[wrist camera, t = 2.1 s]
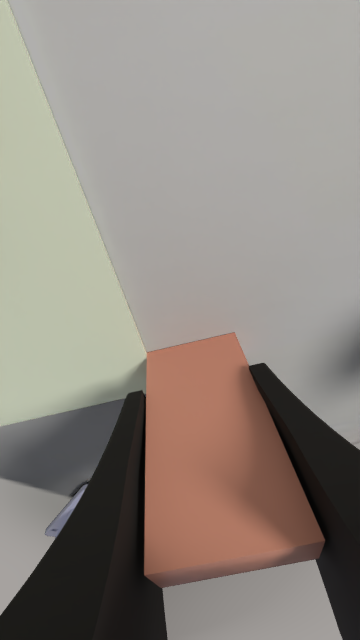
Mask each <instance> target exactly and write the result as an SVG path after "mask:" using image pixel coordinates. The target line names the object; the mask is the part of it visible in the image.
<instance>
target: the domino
mask: <svg viewBox="0 0 360 640" xmlns="http://www.w3.org/2000/svg"><path fill="white" fill-rule="evenodd" d="M324 543H325V539H324V537H323V534H322V532H321V530H320V528H319V525H318V523H317V521H316V518H315V516H314V514H313V511H312V509H311V507H310V505H309V502H308V500H307V498H306V495H305V493H304V491H303V488H302V486H301V484H300V482H299V479H298V477H297V475H296V472H295V470H294V468H293V466H292V463H291V461H290V459H289V456H288V454H287V452H286V449H285V447H284V445H283V443H282V440H281V438H280V436H279V433H278V431H277V429H276V427H275V424H274V422H273V420H272V417H271V415H270V413H269V410H268V408H267V406H266V404H265V401H264V400H263V398H262V396H261V394H260V392H259V391H258V389H257V387H256V384H255V382H254V380H253V377H252V375H251V373H250V370H249V365H248V362H247V360H246V358H245V355H244V353H243V351H242V349H241V346H240V344H239V342H238V339H237V337H236V335H235V333H230V334H226V335H221V336H217V337H213V338H208V339H204V340H200V341H195V342H191V343H187V344H182V345H178V346H174V347H169V348H165V349H161V350H156V351H152V352H148V353H147V375H146V460H145V545H144V576H146V577H147V578H148V579H150V580H151V581H152V582H154V583H155V584H156V585H158V586H159V587H160V588H164V587H169V586H175V585H180V584H185V583H190V582H196V581H201V580H207V579H211V578H217V577H222V576H228V575H233V574H238V573H244V572H249V571H254V570H260V569H266V568H271V567H276V566H281V565H287V564H292V563H298V562H303V561H308V560H314V559H319V557H320V554H321V551H322V549H323V546H324Z"/></svg>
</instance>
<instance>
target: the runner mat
mask: <svg viewBox="0 0 360 640" xmlns="http://www.w3.org/2000/svg"><path fill="white" fill-rule="evenodd" d="M146 375H147V352H146V350H145V347H144V345H143V342H142V340H141V337H140V335H139V332H138V329H137V327H136V324H135V322H134V319H133V317H132V314H131V312H130V309H129V307H128V304H127V302H126V299H125V297H124V294H123V292H122V289H121V286H120V284H119V281H118V279H117V276H116V274H115V271H114V269H113V266H112V264H111V261H110V259H109V256H108V254H107V251H106V249H105V246H104V243H103V241H102V238H101V236H100V233H99V231H98V228H97V226H96V223H95V221H94V218H93V216H92V213H91V211H90V208H89V206H88V203H87V200H86V198H85V195H84V193H83V190H82V188H81V185H80V183H79V180H78V178H77V175H76V173H75V170H74V168H73V165H72V163H71V160H70V157H69V155H68V152H67V150H66V147H65V145H64V142H63V140H62V137H61V135H60V132H59V130H58V127H57V125H56V122H55V120H54V117H53V114H52V112H51V109H50V107H49V104H48V102H47V99H46V97H45V94H44V92H43V89H42V87H41V84H40V82H39V79H38V77H37V74H36V71H35V69H34V66H33V64H32V61H31V59H30V56H29V54H28V51H27V49H26V46H25V44H24V41H23V39H22V36H21V34H20V31H19V28H18V26H17V23H16V21H15V18H14V16H13V13H12V11H11V8H10V6H9V3H8V1H7V0H0V426H4V425H8V424H13V423H17V422H22V421H26V420H31V419H35V418H40V417H44V416H49V415H53V414H58V413H62V412H66V411H71V410H75V409H80V408H84V407H89V406H93V405H98V404H102V403H107V402H111V401H116V400H120V399H124V398H126V396H127V394H128V393H131V392H135V391H140V390H142V391H143V393H144V394H146Z"/></svg>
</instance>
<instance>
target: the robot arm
mask: <svg viewBox="0 0 360 640" xmlns="http://www.w3.org/2000/svg"><path fill="white" fill-rule="evenodd" d="M249 370H250V373H251V375H252V377H253V380H254V382H255V384H256V387H257V389H258V391H259V392H260V394H261V396H262V398H263V400H264V401H265V404H266V406H267V408H268V410H269V413H270V415H271V417H272V420H273V422H274V424H275V427H276V429H277V431H278V433H279V436H280V438H281V440H282V443H283V445H284V447H285V449H286V452H287V454H288V456H289V459H290V461H291V463H292V466H293V468H294V470H295V472H296V475H297V477H298V479H299V482H300V484H301V486H302V488H303V491H304V493H305V495H306V498H307V500H308V502H309V505H310V507H311V509H312V511H313V514H314V516H315V518H316V521H317V523H318V525H319V528H320V530H321V532H322V534H323V537H324V539H325V543H324V546H323V549H322V551H321V554H320V557H319V559H316V562H317V565H318V568H319V571H320V574H321V577H322V580H323V582H324V586H325V588H326V591H327V594H328V598H329V600H330V603H331V607H332V609H333V613H334V616H335V619H336V622H337V625H338V628H339V631H340V634H341V636H342V638H343V640H360V450H359V449H357V448H356V447H355V446H353V445H352V444H351V443H350V442H348V441H347V440H346V439H344V438H343V437H342V436H341V435H339V434H338V433H337V432H336V431H334V430H333V429H332V428H331V427H329V426H328V425H327V424H326V423H325V422H324V421H322V420H321V419H320V418H319V417H318V416H317V415H315V414H314V413H313V412H312V411H311V410H310V409H309V408H308V407H307V406H305V405H304V404H303V403H302V402H301V401H300V400H299V399H298V398H297V397H296V396H295V395H294V394H293V393H292V392H291V391H290V390H289V389H288V388H287V387H286V386H285V385H284V384H283V383H282V382H281V381H280V380H279V379H278V378H277V376H276V375H275V374H274V373H273V372H272V371H271V370H270V369H269V367H268V366H267V365H266V364H265V363H260V364H256V365H251V366H249ZM145 460H146V397H145V395H144V393H143V391H142V390H140V391H135V392H131V393H128V394H127V396H126V399H125V402H124V404H123V407H122V410H121V413H120V415H119V418H118V421H117V423H116V426H115V428H114V430H113V433H112V435H111V438H110V440H109V442H108V445H107V447H106V449H105V451H104V453H103V455H102V458H101V460H100V462H99V464H98V466H97V468H96V470H95V472H94V474H93V476H92V478H91V480H90V482H89V484H86V485H84V486H82V487H81V489H80V490H79V491H78V492H77V493H76V494H75V496H74V497H73V498H72V499H71V500H70V502H69V503H68V504H67V505H66V506H65V507H64V508H63V510H62V511H61V512H60V513H59V515H58V516H57V517H56V518H55V519H54V520H53V521H52V523H51V524H50V525H49V526H48V527H47V529H46V532H45V535H47V536H55V537H56V538H55V540H54V542H53V543H52V545H51V546H50V548H49V549H48V551H47V552H46V554H45V555H44V557H43V558H42V559H41V561H40V562H39V564H38V565H37V567H36V568H35V570H34V571H33V573H32V574H31V575H30V577H29V578H28V580H27V581H26V582H25V584H24V585H23V586H22V587H21V589H20V590H19V592H18V593H17V594H16V596H15V597H14V598H13V600H12V601H11V602H10V604H9V605H8V606H7V608H6V609H5V610H4V611H3V613H2V614H1V615H0V640H167V631H166V622H165V612H164V602H163V591H162V588H160V587H159V586H158V585H156V584H155V583H154V582H152V581H151V580H150V579H148V578H147V577H146V576H144V545H145Z"/></svg>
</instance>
